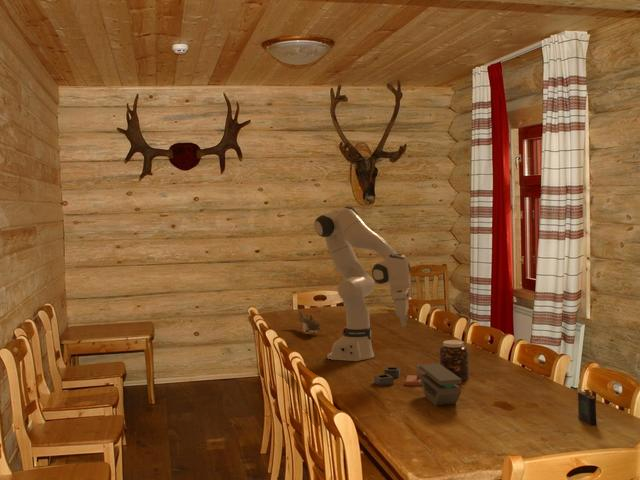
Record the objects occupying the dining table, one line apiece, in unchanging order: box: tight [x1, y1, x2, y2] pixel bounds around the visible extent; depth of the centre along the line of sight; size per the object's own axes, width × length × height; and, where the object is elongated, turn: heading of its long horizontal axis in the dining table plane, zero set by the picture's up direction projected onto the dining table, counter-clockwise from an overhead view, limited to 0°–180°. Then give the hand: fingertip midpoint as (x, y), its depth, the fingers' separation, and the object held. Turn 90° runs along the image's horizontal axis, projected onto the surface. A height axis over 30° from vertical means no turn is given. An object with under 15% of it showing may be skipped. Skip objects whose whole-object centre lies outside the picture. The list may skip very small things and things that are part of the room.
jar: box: [439, 339, 470, 382], centre depth 295 cm, size 12×12×15 cm
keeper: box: [404, 364, 423, 387], centre depth 291 cm, size 10×10×7 cm
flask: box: [577, 388, 598, 427], centre depth 234 cm, size 9×3×11 cm, turn 8°
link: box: [384, 366, 401, 378], centre depth 303 cm, size 6×6×3 cm
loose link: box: [373, 373, 394, 387], centre depth 291 cm, size 6×6×3 cm
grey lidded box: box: [418, 362, 463, 407], centre depth 264 cm, size 25×8×11 cm, turn 9°
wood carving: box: [297, 309, 322, 333], centre depth 406 cm, size 9×35×11 cm, turn 18°
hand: (404, 323), depth 305 cm, fingers open, 8 cm apart
